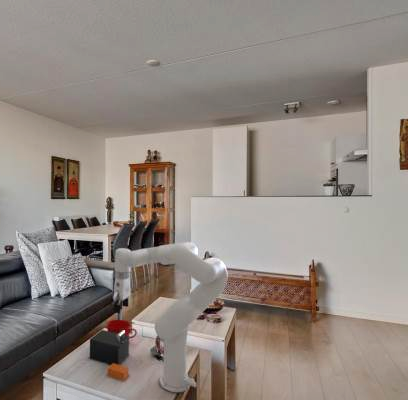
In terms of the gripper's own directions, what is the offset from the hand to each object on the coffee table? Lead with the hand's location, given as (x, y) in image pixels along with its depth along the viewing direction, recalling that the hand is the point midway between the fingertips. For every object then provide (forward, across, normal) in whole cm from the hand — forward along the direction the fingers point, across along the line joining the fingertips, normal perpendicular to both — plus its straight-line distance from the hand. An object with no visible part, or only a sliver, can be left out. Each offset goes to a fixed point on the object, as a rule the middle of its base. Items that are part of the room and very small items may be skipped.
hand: (121, 309), depth 150 cm
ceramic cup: (+26, +19, +7) cm, 33 cm away
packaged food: (+26, +17, -17) cm, 35 cm away
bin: (+26, +2, +6) cm, 27 cm away
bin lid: (+17, +2, +6) cm, 18 cm away
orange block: (+26, -11, -4) cm, 28 cm away
